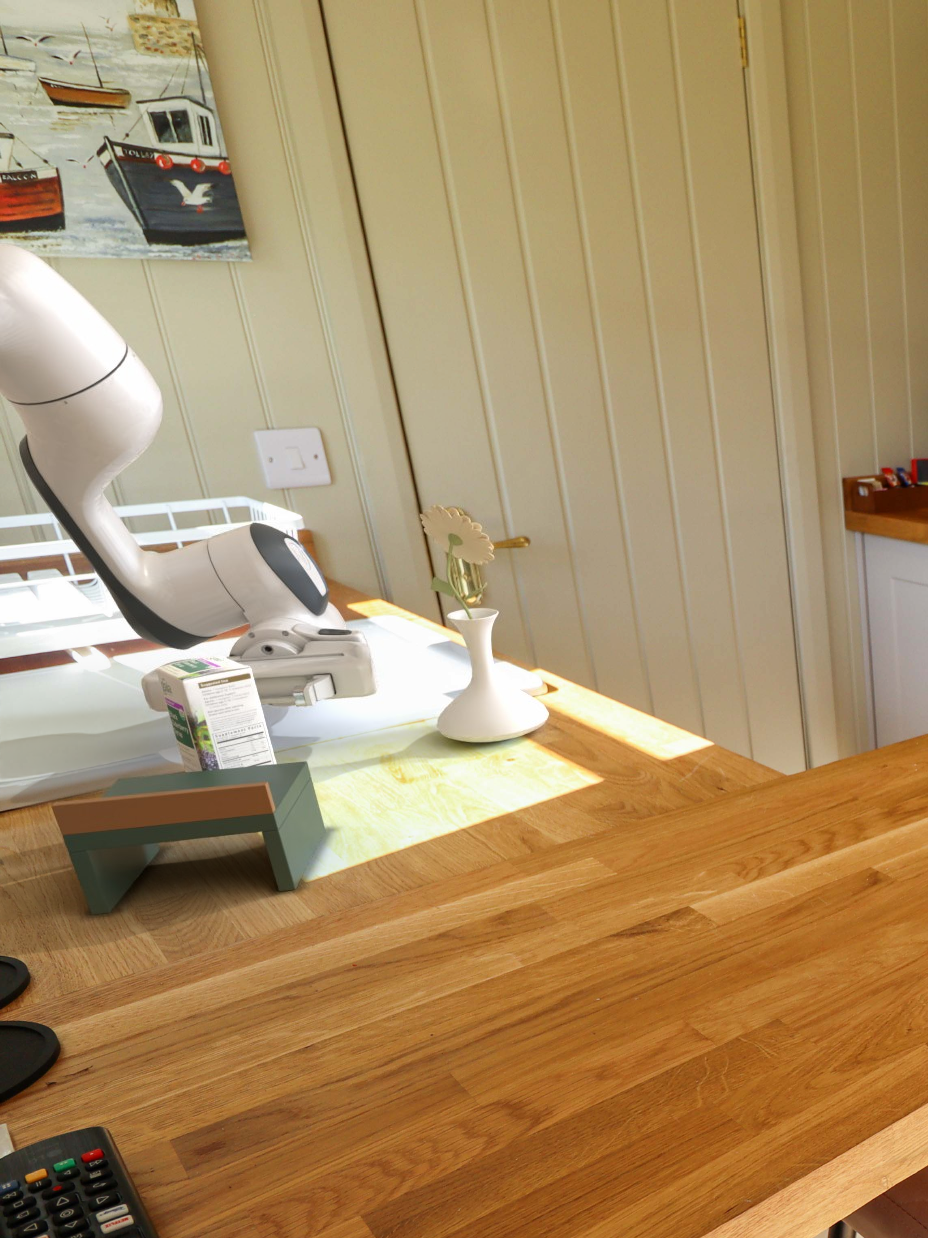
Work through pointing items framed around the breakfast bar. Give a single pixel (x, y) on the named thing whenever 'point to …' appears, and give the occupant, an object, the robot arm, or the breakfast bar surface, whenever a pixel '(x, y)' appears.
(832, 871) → the breakfast bar surface
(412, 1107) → the breakfast bar surface
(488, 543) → the flower in vase
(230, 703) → the syrup box
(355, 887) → the breakfast bar surface
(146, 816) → the shelf
